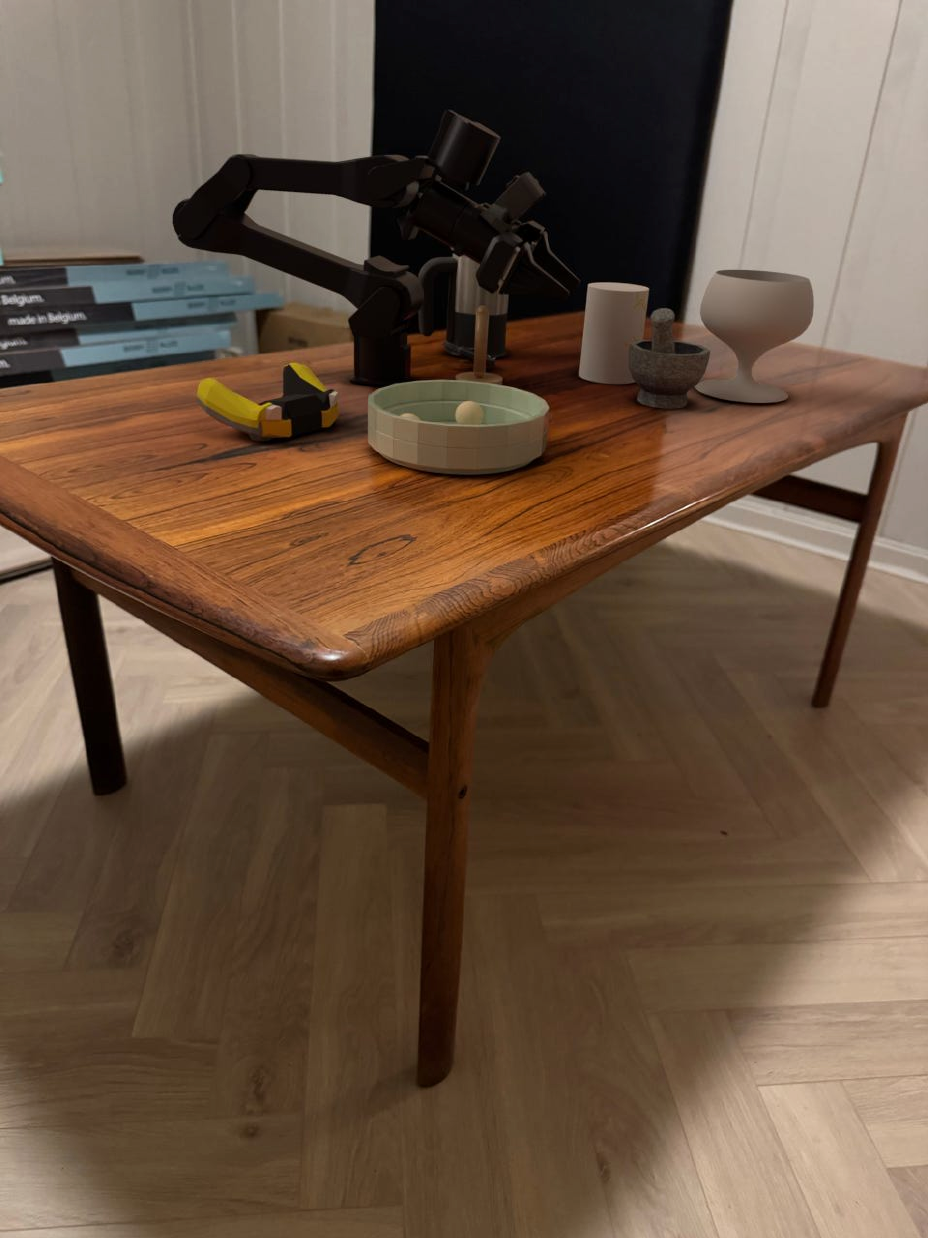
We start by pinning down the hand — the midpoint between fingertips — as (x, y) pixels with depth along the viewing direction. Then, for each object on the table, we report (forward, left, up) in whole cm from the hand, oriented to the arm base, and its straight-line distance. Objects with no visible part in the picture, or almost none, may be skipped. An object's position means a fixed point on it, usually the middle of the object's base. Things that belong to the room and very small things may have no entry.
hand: (573, 290), depth 110 cm
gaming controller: (-27, -26, -13) cm, 39 cm away
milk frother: (-16, +18, -13) cm, 28 cm away
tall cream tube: (+4, +15, -13) cm, 21 cm away
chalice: (+22, +13, -13) cm, 29 cm away
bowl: (-7, -26, -13) cm, 30 cm away
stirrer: (-11, 0, -13) cm, 17 cm away
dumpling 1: (-12, -28, -11) cm, 32 cm away
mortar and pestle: (+12, +3, -13) cm, 18 cm away
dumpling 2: (-7, -21, -11) cm, 24 cm away
